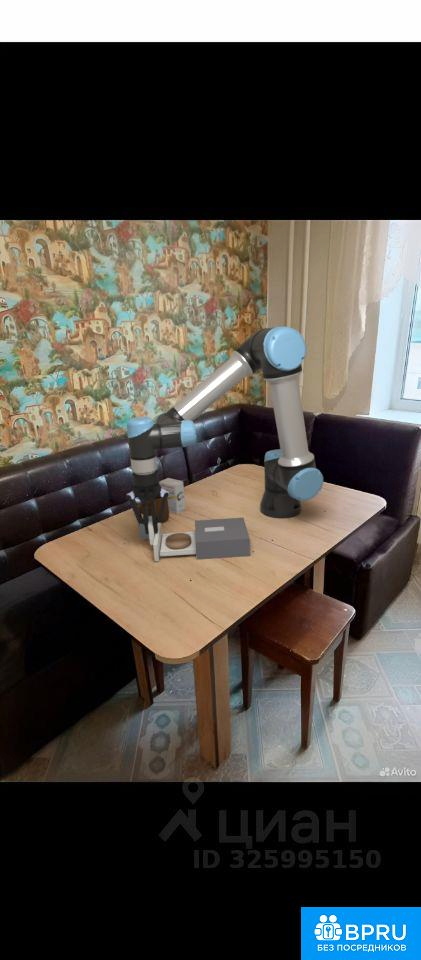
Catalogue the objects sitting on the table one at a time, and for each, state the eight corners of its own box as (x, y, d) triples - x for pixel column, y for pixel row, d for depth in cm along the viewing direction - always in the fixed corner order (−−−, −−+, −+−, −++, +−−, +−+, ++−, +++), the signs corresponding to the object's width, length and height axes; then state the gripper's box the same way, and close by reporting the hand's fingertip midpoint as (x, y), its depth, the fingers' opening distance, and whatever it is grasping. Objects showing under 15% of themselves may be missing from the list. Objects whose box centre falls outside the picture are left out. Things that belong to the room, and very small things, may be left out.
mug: (146, 530, 141) (144, 505, 138) (134, 524, 146) (131, 500, 143) (173, 519, 149) (171, 495, 146) (161, 513, 154) (158, 490, 151)
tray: (206, 534, 135) (205, 519, 133) (208, 557, 121) (207, 541, 119) (157, 538, 134) (155, 523, 133) (153, 561, 120) (151, 545, 118)
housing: (243, 533, 135) (243, 516, 133) (250, 555, 121) (249, 537, 119) (195, 536, 135) (194, 520, 133) (196, 559, 121) (195, 541, 119)
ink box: (161, 509, 158) (158, 481, 154) (169, 505, 161) (167, 477, 158) (177, 514, 153) (174, 485, 149) (186, 509, 156) (183, 481, 152)
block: (156, 531, 140) (154, 515, 138) (155, 538, 135) (153, 522, 133) (142, 532, 140) (140, 516, 138) (140, 539, 135) (138, 523, 133)
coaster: (166, 538, 131) (165, 534, 130) (190, 536, 131) (190, 532, 131) (165, 550, 123) (165, 546, 123) (192, 548, 124) (191, 544, 123)
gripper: (167, 465, 122) (174, 535, 130) (124, 468, 122) (133, 538, 130) (166, 473, 115) (173, 546, 123) (120, 476, 115) (130, 549, 123)
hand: (152, 542), depth 127 cm, fingers closed
